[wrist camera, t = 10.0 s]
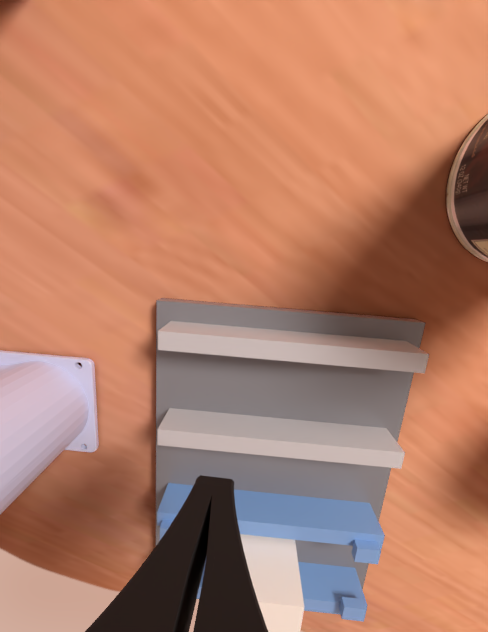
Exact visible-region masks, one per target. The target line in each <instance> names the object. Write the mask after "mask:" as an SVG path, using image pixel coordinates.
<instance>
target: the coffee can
mask: <svg viewBox="0 0 488 632" xmlns="http://www.w3.org/2000/svg"><path fill="white" fill-rule="evenodd" d="M446 206H447V214H448V218H449V221H450V224H451V227H452V230H453V232H454V233H455V235H456V237H457V238H458V240H459V242H460V243H461V244H462V245H463V246H464V248H466V249H467V250H468V251H469V252H470V253H472V254H473V255H474V256H476V257H478V258H479V259H481V260H483V261H485V262H488V114H487V115H486V116H485V117H484V118H483V119H482V120H481V121H480V122H479V123H478V124H477V126H476V127H475V128H474V129H473V130H472V131H471V133H470V134H469V135H468V137H467V138H466V139H465V141H464V143H463V144H462V146H461V148H460V149H459V151H458V153H457V155H456V158H455V160H454V162H453V165H452V168H451V171H450V174H449V178H448V182H447V191H446Z"/></svg>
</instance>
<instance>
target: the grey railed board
mask: <svg viewBox="0 0 488 632" xmlns="http://www.w3.org/2000/svg"><path fill="white" fill-rule="evenodd" d="M424 327H425V322H422V321H420V320H417V319H407V318H395V317H383V316H371V315H359V314H347V313H335V312H323V311H311V310H299V309H287V308H275V307H263V306H251V305H239V304H227V303H215V302H203V301H191V300H179V299H167V298H161V299H158V300H157V323H156V545H157V544H158V543H159V541H160V540H161V538H162V537H163V535H164V534H165V533H166V531H167V530H168V528H169V527H170V525H171V523H172V522H173V520H174V519H175V517H176V516H177V514H178V512H179V511H180V509H181V508H182V506H183V504H184V502H185V501H186V499H187V497H188V495H189V493H190V492H191V490H192V488H193V486H194V484H195V481H196V479H197V477H199V476H200V475H202V476H210V477H219V478H227V479H232V480H233V481H234V498H235V507H236V515H237V521H238V526H239V531H240V534H244V535H254V536H263V537H273V538H282V539H292V540H295V543H296V550H297V557H298V565H299V572H300V579H301V586H302V593H303V601H304V610H305V611H314V612H323V613H332V614H341V618H342V619H347V620H356V621H364V618H365V614H366V610H367V603H366V600H365V597H364V594H363V590H362V589H363V585H364V581H365V577H366V572H367V568H368V564H369V563H371V564H378V561H379V557H380V553H381V548H382V544H383V540H384V536H385V535H384V533H383V531H382V528H381V526H380V524H379V517H380V513H381V509H382V505H383V500H384V496H385V492H386V488H387V484H388V479H389V475H390V471H391V468H400V469H401V467H402V463H403V459H404V455H405V452H404V451H403V449H402V448H401V447H400V445H399V444H398V443H397V441H398V437H399V433H400V429H401V424H402V420H403V416H404V412H405V407H406V403H407V399H408V395H409V391H410V386H411V382H412V378H413V374H414V372H415V373H425V370H426V366H427V362H428V358H429V354H428V353H426V352H424V351H423V350H421V349H419V348H420V344H421V340H422V336H423V331H424ZM206 557H207V556H206ZM205 564H206V560H205ZM205 564H204V569H203V573H202V577H201V581H200V586H199V590H198V594H197V598H196V599H200V594H201V588H202V582H203V577H204V571H205Z"/></svg>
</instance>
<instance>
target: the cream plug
mask: <svg viewBox="0 0 488 632" xmlns="http://www.w3.org/2000/svg"><path fill="white" fill-rule="evenodd" d="M240 536H241V541H242V545H243V550H244V554H245V558H246V562H247V566H248V569H249V573H250V577H251V580H252V584H253V587H254V590H255V593H256V597H257V600H258V603H259V606H260V609H261V612H262V615H263V618H264V621H265V624H266V627H267V630H268V632H300V629H301V624H302V618H303V612H304V601H303V593H302V586H301V579H300V572H299V565H298V557H297V550H296V543H295V540H292V539H282V538H273V537H263V536H254V535H244V534H240Z"/></svg>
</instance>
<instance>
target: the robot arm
mask: <svg viewBox="0 0 488 632" xmlns="http://www.w3.org/2000/svg"><path fill="white" fill-rule="evenodd" d="M78 363H81V364H82V367H81V366H80V365H79V364H78ZM84 444H85V445H87V446H85V445H84ZM98 446H99V442H98V423H97V404H96V384H95V365H94V362H93V361H92V360H91V359H89V358H80V357H69V356H58V355H46V354H35V353H24V352H13V351H2V350H0V514H1V513H2V512H3V511H4V510H5V509H6V508H7V507H8V506H9V505H10V504H11V503H12V502H13V501H14V500H15V499H16V498H17V497H18V496H19V495H20V494H21V493H22V492H23V491H24V490H25V489H26V488H27V487H28V486H29V485H30V484H31V483H32V482H33V481H34V480H35V479H36V478H37V477H38V476H39V475H40V474H41V473H42V472H43V471H44V470H45V469H46V468H47V467H48V466H49V465H50V464H51V463H52V462H53V461H54V459H55V458H56V457H57V456H58V455H59V454H60V453H61V452H62V451H63V450H72V451H83V452H94V451H96V449H97V448H98ZM206 556H207V557H206ZM205 560H206V564H205ZM204 564H205V571H204V577H203V582H202V588H201V594H200V599H199V605H198V610H197V616H196V621H195V626H194V632H268V630H267V627H266V624H265V621H264V618H263V615H262V612H261V609H260V606H259V603H258V600H257V597H256V593H255V590H254V587H253V584H252V580H251V577H250V573H249V569H248V566H247V562H246V558H245V554H244V550H243V545H242V541H241V536H240V531H239V526H238V521H237V515H236V507H235V498H234V481H233V480H232V479H227V478H219V477H210V476H202V475H200V476H199V477H197V479H196V481H195V484H194V486H193V488H192V490H191V492H190V493H189V495H188V497H187V499H186V501H185V502H184V504H183V506H182V508H181V509H180V511H179V512H178V514H177V516H176V517H175V519H174V520H173V522H172V523H171V525H170V527H169V528H168V530H167V531H166V533H165V534H164V535H163V537H162V538H161V540H160V541H159V543H158V544H157V545H156V547H155V548H154V550H153V551H152V552H151V554H150V555H149V557H148V558H147V559H146V561H145V562H144V563H143V564H142V566H141V567H140V568H139V570H138V571H137V572H136V573H135V575H134V576H133V577H132V578H131V580H130V581H129V582H128V583H127V585H126V586H125V587H124V588H123V589H122V591H121V592H120V593H119V594H118V595H117V596H116V598H115V599H114V600H113V601H112V602H111V603H110V605H109V606H108V607H107V608H106V609H105V611H104V612H103V613H102V614H101V615H100V616H99V617H98V618H97V619H96V620H95V622H94V623H93V624H92V625H91V626H90V627H89V628H88V629H87V630H86V631H85V632H189V628H190V624H191V620H192V615H193V611H194V607H195V603H196V598H197V594H198V590H199V586H200V581H201V577H202V573H203V569H204Z"/></svg>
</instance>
